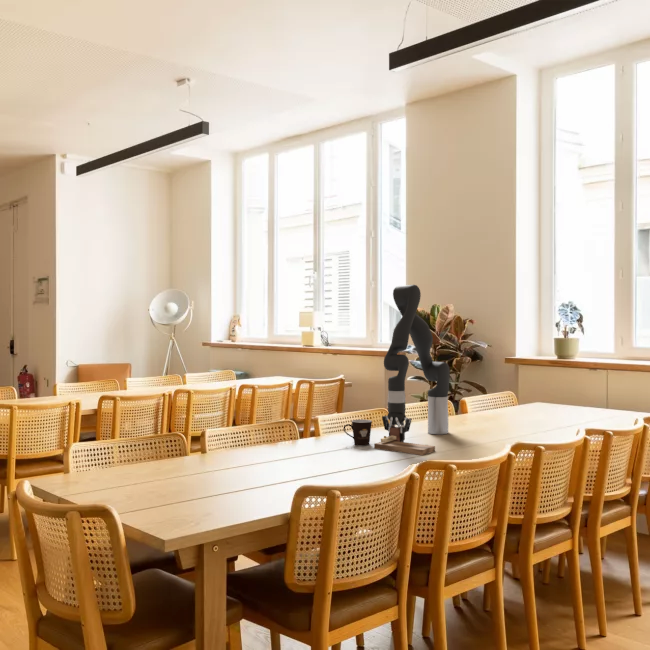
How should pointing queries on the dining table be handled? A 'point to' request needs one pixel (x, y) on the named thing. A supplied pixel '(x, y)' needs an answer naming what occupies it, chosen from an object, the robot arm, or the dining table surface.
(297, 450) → the dining table surface
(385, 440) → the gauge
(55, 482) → the dining table surface
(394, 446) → the plank
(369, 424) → the coffee mug
